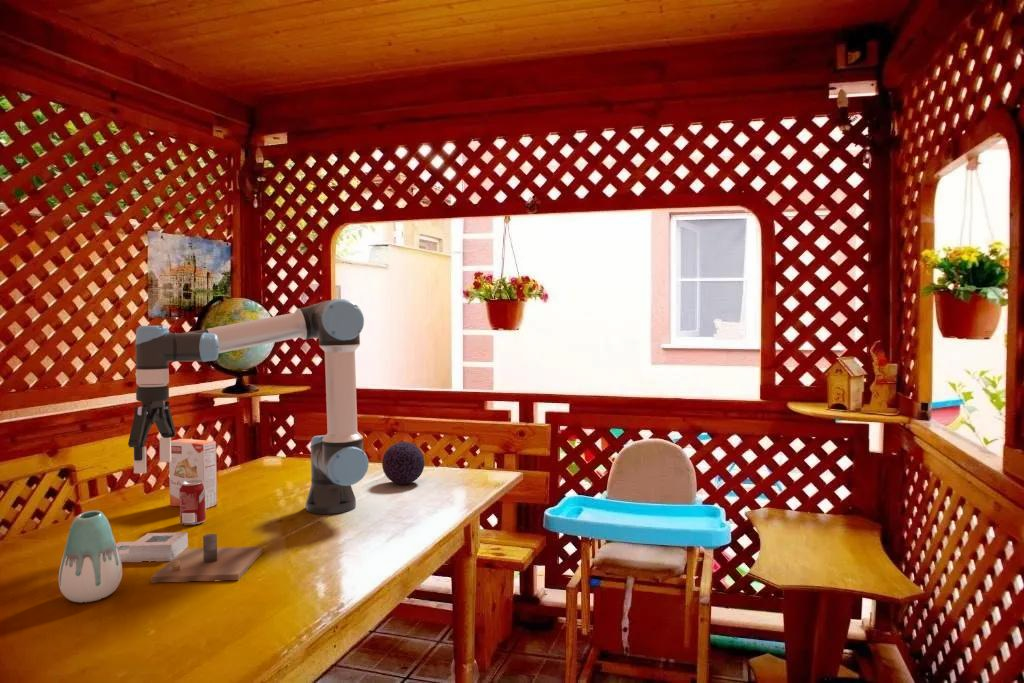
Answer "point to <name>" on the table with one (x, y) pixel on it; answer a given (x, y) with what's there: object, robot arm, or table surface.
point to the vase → (90, 559)
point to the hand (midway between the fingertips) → (153, 467)
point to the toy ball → (403, 463)
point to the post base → (208, 563)
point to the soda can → (192, 502)
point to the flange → (153, 547)
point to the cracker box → (193, 468)
